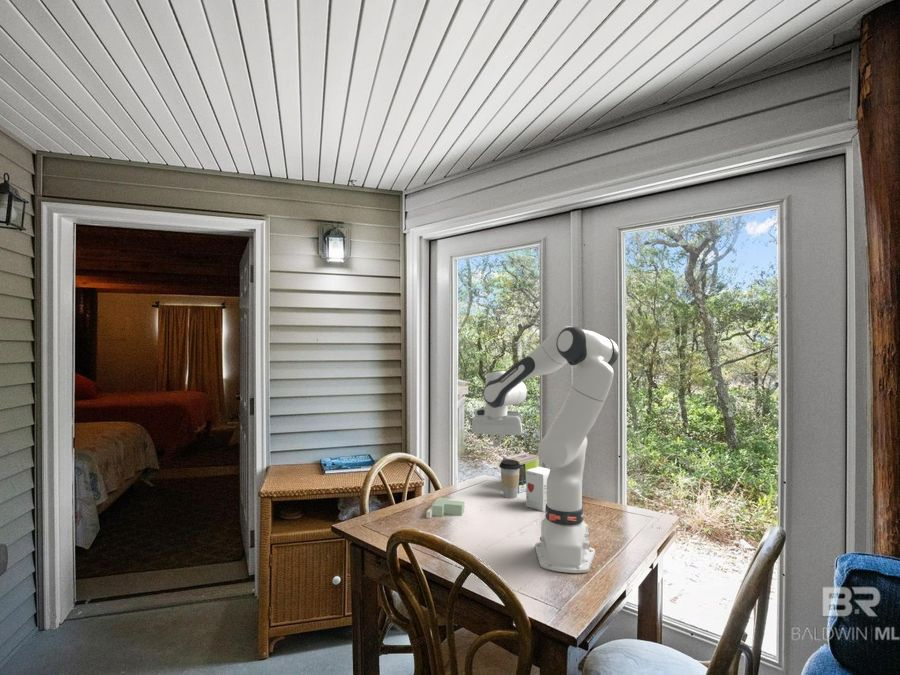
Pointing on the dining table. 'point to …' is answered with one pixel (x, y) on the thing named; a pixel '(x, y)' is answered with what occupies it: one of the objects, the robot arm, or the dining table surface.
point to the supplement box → (536, 488)
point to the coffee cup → (510, 477)
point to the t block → (447, 507)
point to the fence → (429, 511)
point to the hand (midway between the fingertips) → (496, 445)
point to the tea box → (524, 467)
